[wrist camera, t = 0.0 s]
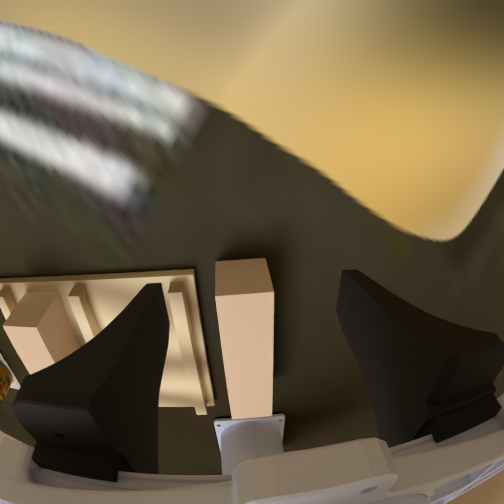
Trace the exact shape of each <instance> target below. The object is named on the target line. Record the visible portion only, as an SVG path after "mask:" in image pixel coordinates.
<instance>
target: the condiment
mask: <svg viewBox="0 0 504 504" xmlns="http://www.w3.org/2000/svg"><path fill="white" fill-rule="evenodd" d="M9 388H15V389H20V384H19V383H18V381H17V379H16V377H15V376H14V374H13V372H12V371H11V369H10V368H9V366H8V364H7V363H6V361H5V360H4V359H3V357H2V355H1V353H0V408H1V406H2V403H3V401H4V399H5V397H6V394H7V392H8V390H9Z"/></svg>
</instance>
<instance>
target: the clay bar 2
mask: <svg viewBox="0 0 504 504" xmlns="http://www.w3.org/2000/svg"><path fill="white" fill-rule="evenodd" d="M215 298H216V307H217V315H218V323H219V331H220V339H221V346H222V354H223V361H224V368H225V375H226V382H227V389H228V396H229V403H230V409H231V416H232V419H245V418H257V417H267V416H272V394H273V343H274V290H273V286H272V282H271V278H270V274H269V270H268V266H267V262H266V259H265V258H257V259H243V260H230V261H216V270H215Z"/></svg>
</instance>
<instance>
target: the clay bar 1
mask: <svg viewBox="0 0 504 504" xmlns="http://www.w3.org/2000/svg"><path fill="white" fill-rule="evenodd" d="M3 327H4V329H5V331H6V333H7V335H8V337H9V339H10V341H11V342H12V344H13V346H14V348H15V350H16V351H17V353H18V355H19V357H20V358H21V360H22V362H23V363H24V365H25V367H26V368H27V370H28V371H29V373H30V374H33V373H35V372H37V371H39V370H42V369H44V368H46V367H48V366H50V365H52V364H54V363H56V362H58V361H60V360H61V359H63V358H65V357H66V356H68V355H70V354H71V353H73V352H74V351H76V350H77V349H79V348H80V347H81V346H80V343H79V341H78V339H77V337H76V334H75V332H74V330H73V328H72V325H71V323H70V320H69V318H68V316H67V313H66V311H65V308H64V306H63V303H62V300H61V298H60V295H59V292H26V293H25V294H24V296H23V297H22V298H21V300H20V301H19V303H18V304H17V305H16V307H15V308H14V310H13V311H12V312H11V314H10V315H9V317H8V318H7V320H6V321H5V323H4V324H3Z"/></svg>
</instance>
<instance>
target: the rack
mask: <svg viewBox="0 0 504 504" xmlns="http://www.w3.org/2000/svg"><path fill="white" fill-rule="evenodd" d="M147 283H162V288H163V293H164V298H165V302H166V307H167V312H168V316H169V321H170V331H169V345H168V350H167V355H166V360H165V365H164V371H163V376H162V381H161V386H160V393H159V405H158V407H194V406H195V410H196V413H197V415H203V414H207V406H215V399H214V394H213V389H212V383H211V377H210V372H209V366H208V360H207V354H206V348H205V342H204V336H203V329H202V323H201V316H200V309H199V303H198V295H197V288H196V281H195V273H194V269H184V270H167V271H149V272H130V273H111V274H91V275H70V276H47V277H24V278H0V308H1V310H2V312H3V314H4V316H5V318H6V320H7V318H8V317H9V315H10V314H11V312H12V311H13V310H14V308H15V307H16V305H17V304H18V303H19V301H20V300H21V298H22V297H23V296H24V294H25V293H26V292H59V295H60V298H61V300H62V303H63V306H64V308H65V311H66V313H67V316H68V318H69V320H70V323H71V325H72V328H73V330H74V332H75V334H76V337H77V339H78V341H79V343H80V346H83V345H84V344H86V343H87V342H88V341H90V340H91V339H92V338H93V337H95V336H96V335H97V334H98V333H100V332H101V331H102V330H103V329H104V328H105V327H106V326H107V325H108V324H109V323H110V322H111V321H112V320H113V319H114V318H115V317H116V316H117V315H118V314H119V313H120V312H121V311H122V310H123V309H124V308H125V307H126V306H127V305H128V304H129V303H130V302H131V300H132V299H133V298H134V297H135V296H136V295H137V294H138V292H139V291H140V290H141V289H142V288H143V287H144V286H145V285H146V284H147Z"/></svg>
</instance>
